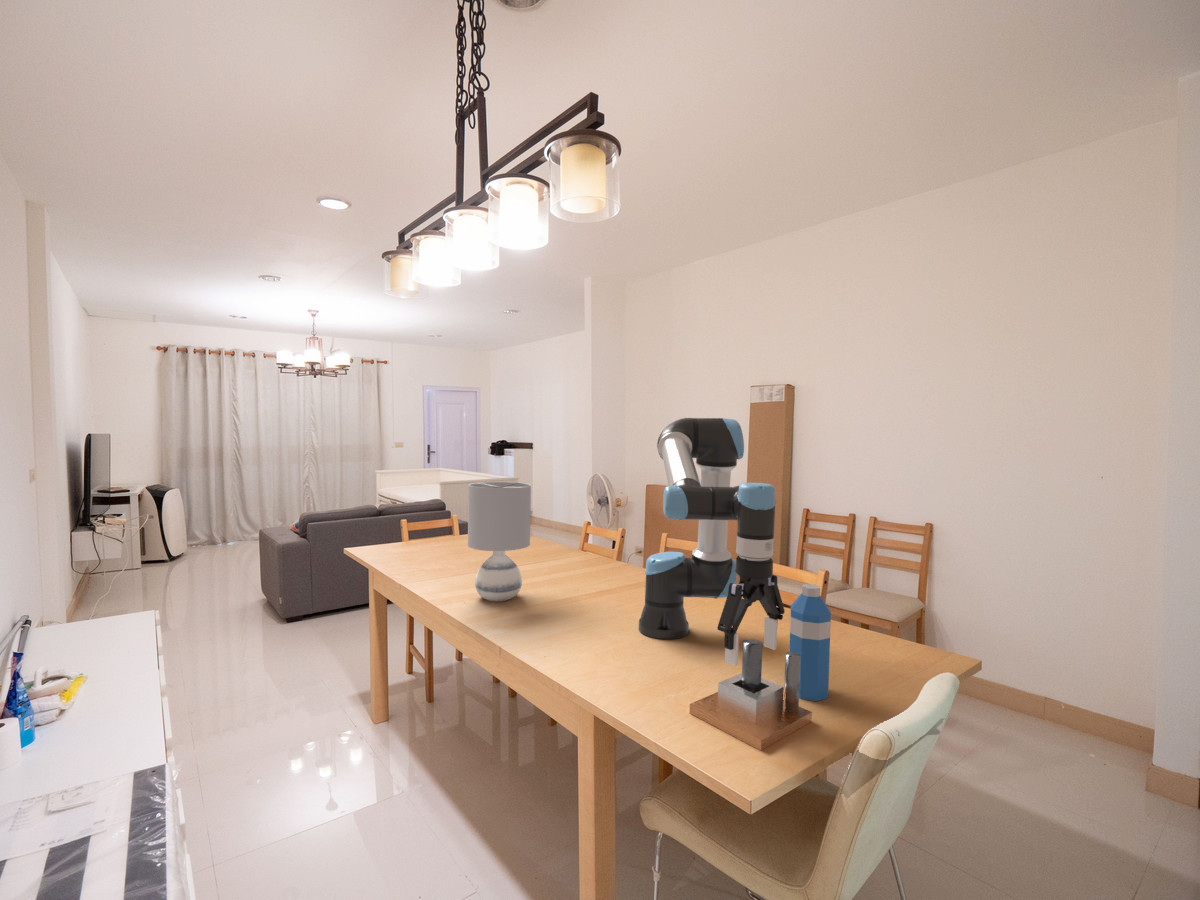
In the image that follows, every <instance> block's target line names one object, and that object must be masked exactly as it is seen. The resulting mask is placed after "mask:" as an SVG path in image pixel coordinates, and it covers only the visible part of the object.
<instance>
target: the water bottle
mask: <svg viewBox="0 0 1200 900" xmlns="http://www.w3.org/2000/svg"><path fill="white" fill-rule="evenodd" d="M801 587H802V588H801V593H800V594H799V595H798V596H797V598H796V599H795V600H794V601H793V602H792V603H791V604H790V620H789V621H790V623H789V624H790V625H789V647H788V648H789V650H788V652H795V653H798V654H800V656H801V657H800V687H799V700H808V701H813V702H819V701H823V700H826V699H827V700H828V698H829V684H830V683H829V682H830V680H829V679H830V676H829V675H830V650H831V649H830V648H831V620H832V617H831V616H832V613H831V610H830V608H829V606H828V605H827V603H826V602H825V601H824V599H823V598H822V596H821V587H820V585H817V584H813V583H812V584H811V583H804V584H802V586H801Z"/></svg>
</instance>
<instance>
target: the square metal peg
mask: <svg viewBox="0 0 1200 900" xmlns="http://www.w3.org/2000/svg"><path fill="white" fill-rule="evenodd" d="M741 654H742V656H741V657H742V660H741V661H742V662H741V673H742V688H743V689H745V690H747V691H750V692H752V693H756V692H758V691H760V690H761V678H762V673H763V672H762V669H763V667H762V665H763V642H762V641H760V640H758V639H753V638H752V639H751V638H748V639H744V640H743V641H742V653H741Z"/></svg>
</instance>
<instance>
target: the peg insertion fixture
mask: <svg viewBox="0 0 1200 900" xmlns="http://www.w3.org/2000/svg"><path fill="white" fill-rule="evenodd" d="M800 657H801V656H800V654H798V653H795V652H789V651H788V652H787V651H786V652H785V657H784V660H785V661H784V662H785V663H784V686H782V685H779V684H778V683H775V682H773V681H771V680H768V679H765V678H763V677H761V690H760V691H758V692H756V693H752V692H750V691H747V690H745V689H743V688H742V672H741V673H739V674H736V675H734V676H731V677H729V678H726V679H725V680H722V681H720V682H718V684H717V687H718V689H717V692H714V693H713V694H712V693H711V694H709V695H707V696H705V697H703V698H700V699H698V700H696V701H693V702H691V703H689V712H688V713H689V714H690V715H692V716H694V717H697V718H698V719H700V720H701V721H703V722H706V723H707V724H709V725H711V726H713V727H715V728H717V729H719V730H721V731H723V732H724V733H727V734H729V736H732V737H734V738H736V739H737V740H740V741H741V742H743V743H745V744H747V745H750V746H751V747H753V748H755V749H756V750H759V751H763V750H764V749H766V748H768V747H770V746H771V745H774V744H775V743H776V742H779V741H780V740H782V739H784V738H785V737H787V736H789V735H790V734H793V733H794V732H796V731H798V730H799V729H801V728H803V727H804V726H806V725H808V724H809V723H811V722H812V721H813V720H812V717H813V712H812V711H810V710H808V709H805V708H804V707H801V706H800V698H799V687H800Z"/></svg>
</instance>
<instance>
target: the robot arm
mask: <svg viewBox="0 0 1200 900" xmlns="http://www.w3.org/2000/svg"><path fill="white" fill-rule="evenodd" d="M656 448H657V449H656V450H657V452H658V453H657V454H658V456H659V457H660V459H661V460H663V464H664V469H665V473H666V474H665V475H666V479H667V484H668V486H665V487H664V489H663V495H662V507H663V508H662V509H663V515H664V517H665V518H667V519H674V520H679V521H683V520H698V529H697V546H696V547H695V548H694V549H693V550H692V551H691V557H686V555H685V553H683V552H682V551H681V552H680V551H662V552H658V553H654V554H651V555H649V557H647V559H646V561H645V562H646V563H645V571H644V575H645V584H644V589H645V591H644V605H643V608H642V612H641V615H640V618H639V620H638V631H639V633H641V634H642V635H645V636H647V637H650V638H654V639H659V640H660V639H661V640H662V639H663V640H673V639H674V640H675V639H679V638H683V637H685V636H687V635H688V634H689V633H690V631H689V630H690V629H689V628H690V627H689V621H688V619H687V616H686V615H687V614H686V610H685V608H684V600H685V599H684V598H701V599H702V598H705V599H707V598H708V599H719V598H720V599H721V598H724V599H725V602H724V605H723V609H722V612H721V615H720V618H719V621H718V624H717V629H716V630H717V631H720V632H722V633H724V642H723V643H724V644H723V645H724V662H725V663H727V664H728V665H732V666H734V667H737V666H738V665H739V664H738V663H739V640H740V638H739V637H740V635H739V633H737V631H738V629H739V628H740V626H741V622H742V621H743V619H744V617H745V614H746V613H747V610H748V608H749V607H751V606H752V605H753V604H754V603H755V602H757V601H759V602H760V604H761V606H762V608H763V610H764V612H765V614H766V615H767V616H765V617H764V624H763V625H764V630H763V631H764V632H763V647H764V648H768V649H771V650H773V651H776V650H777V641H778V638H777V637H778V636H777V635H778V625H779V624H778V621H782V620H783V618H784V616H783V615H784V614H785V613H786V612H785V607H784V603H783V600H782V595H781V593H780V590H779V585H778V576H777V575H775V574H774V560H773V558H772V557H773V556H774V549H775V547H774V546H775V545H774V541H775V540H774V538H775V518H776V515H775V514H776V505H777V500H776V499H777V498H776V488H775V486H774V485H772V484H771V483H765V482H743V483H741V484H739V485H735V486H731V479H732V478H731V475H732V474H731V473H732V471H733V469H735V468H736V467H737V465H738V464H737V463H738V460H741V459H743V457H744V454H745V440H744V435H743V430H742V426H741V425H740V423H739V421H738V420H736V419H732V418H724V417H717V418H716V417H705V418H704V417H684V418H679V419H676V420H674V421H672V422H671V423H670V424H668V425H667V426H665V427H664V429H663V430H662V431H661V432H660V434H659V435H658V438H657V443H656ZM694 459H696V461H695V462H694ZM695 464H696V465H695ZM696 466H698V468H699V469H700V478H699V473H698V471H697V467H696ZM729 521H737V532H736V544H735V545H736V547H735V548H736V549H735V553H736V554H737V556H736V558H735V559H736V560H735V559H734V558H732V554H731V552H730V551H729V550H728V549H727V547H728V545H727V544H728V530H729V529H728V528H729ZM737 575H738V576H739V582H738V583H737V579H738V578H737V577H738V576H737Z"/></svg>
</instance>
